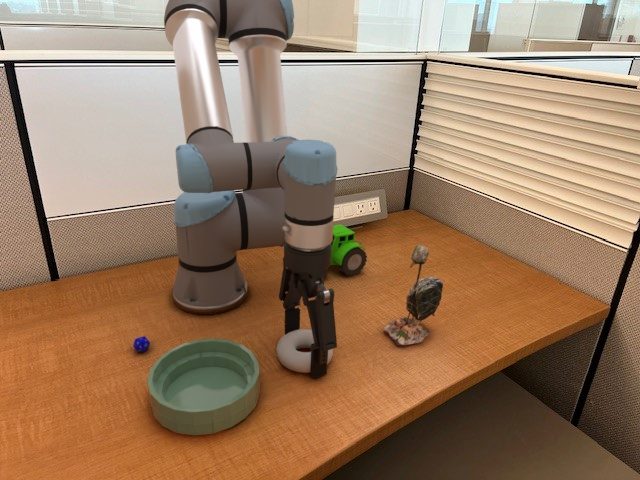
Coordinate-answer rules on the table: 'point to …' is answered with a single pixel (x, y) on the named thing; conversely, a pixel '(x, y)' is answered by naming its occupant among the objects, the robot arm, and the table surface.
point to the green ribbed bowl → (204, 386)
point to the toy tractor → (346, 251)
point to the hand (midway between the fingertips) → (304, 356)
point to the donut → (293, 357)
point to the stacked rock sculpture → (417, 304)
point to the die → (141, 344)
